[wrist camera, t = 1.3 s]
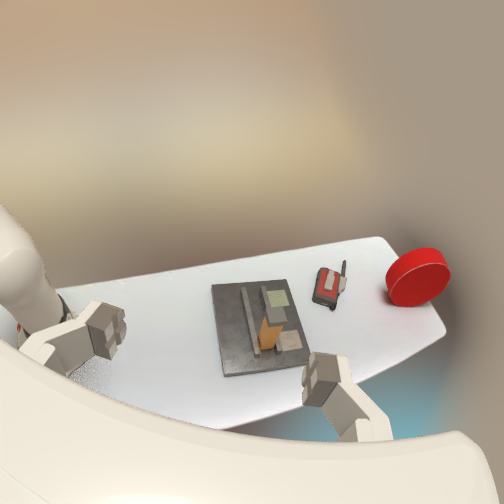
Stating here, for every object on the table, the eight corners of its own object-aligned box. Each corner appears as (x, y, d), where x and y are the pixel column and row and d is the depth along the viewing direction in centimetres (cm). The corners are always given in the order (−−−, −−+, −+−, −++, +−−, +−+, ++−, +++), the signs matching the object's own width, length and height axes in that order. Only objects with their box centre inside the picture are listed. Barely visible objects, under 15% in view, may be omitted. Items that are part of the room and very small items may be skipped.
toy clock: (422, 293, 80) (454, 252, 66) (427, 308, 76) (462, 267, 62) (374, 289, 79) (405, 242, 65) (378, 305, 75) (412, 259, 61)
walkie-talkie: (339, 315, 72) (346, 264, 86) (345, 306, 69) (351, 255, 83) (309, 305, 73) (320, 256, 87) (314, 295, 70) (325, 246, 84)
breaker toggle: (259, 351, 59) (269, 323, 50) (256, 337, 62) (265, 307, 52) (274, 349, 60) (287, 321, 51) (270, 336, 62) (282, 306, 53)
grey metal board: (224, 376, 56) (225, 370, 53) (211, 289, 72) (211, 279, 69) (310, 363, 61) (315, 357, 58) (284, 283, 77) (287, 274, 74)
